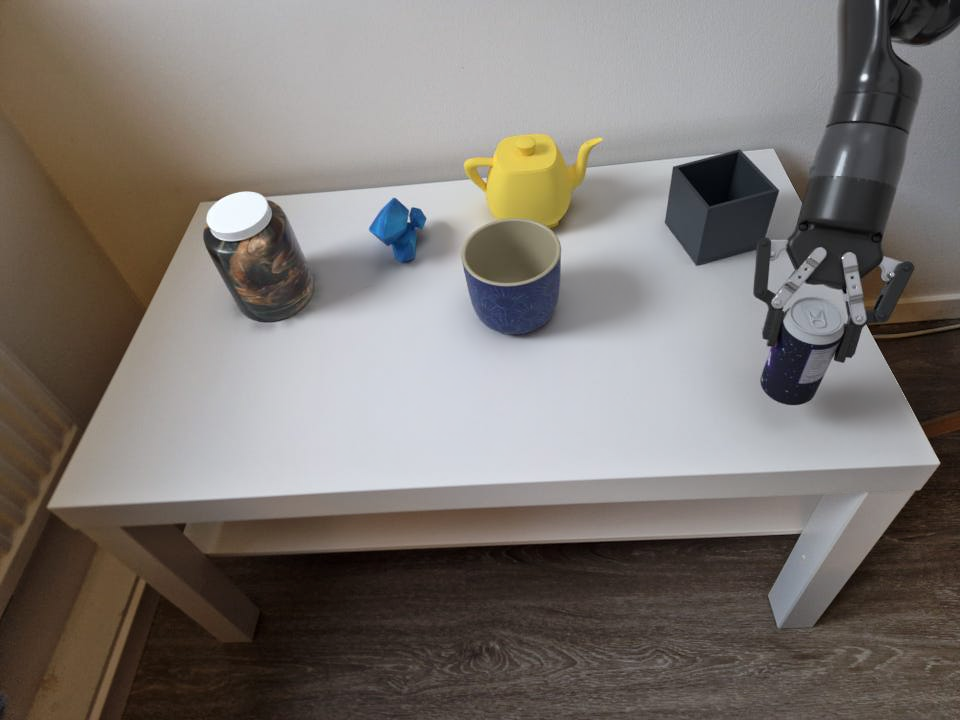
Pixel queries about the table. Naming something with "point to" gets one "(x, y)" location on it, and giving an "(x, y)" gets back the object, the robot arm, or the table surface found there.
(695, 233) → the trash bin
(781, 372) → the beverage can
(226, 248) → the jar
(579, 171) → the teapot
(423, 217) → the crystal
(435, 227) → the table surface
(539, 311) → the planter
